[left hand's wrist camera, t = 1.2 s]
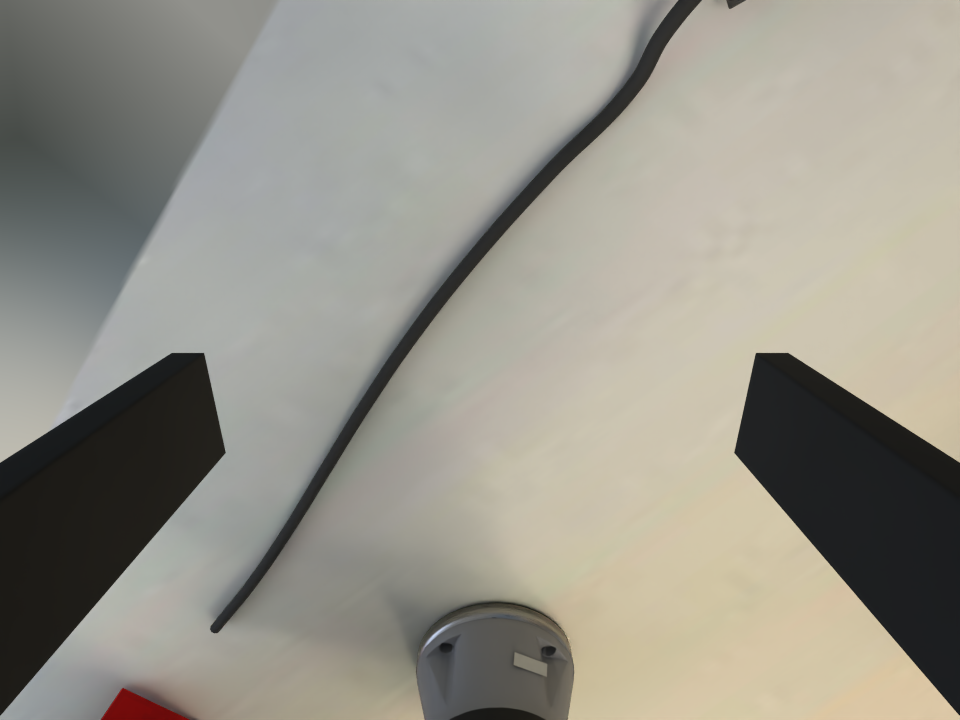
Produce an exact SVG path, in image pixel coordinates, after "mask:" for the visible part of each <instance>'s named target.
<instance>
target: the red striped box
mask: <svg viewBox="0 0 960 720" xmlns="http://www.w3.org/2000/svg"><path fill="white" fill-rule="evenodd" d="M101 720H189V719H187V718H185V717H183V716H181V715H179V714H177V713H175V712H172V711H170V710H168V709H166V708H164V707H162V706H160V705H158V704H156V703H153V702H151V701H149V700H147V699H145V698H143V697H141V696H139V695H137V694H135V693H132V692H130V691H128V690H126V689H124V688H122V689H121V691H120V692H119V694H118V695H117V697H116V698H115V700H114V701H113V702H112V704H111V705H110V707H109V708H108V710H107V711H106V713H105V714H104V716H103V717H102V719H101Z"/></svg>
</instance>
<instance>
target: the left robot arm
mask: <svg viewBox="0 0 960 720" xmlns="http://www.w3.org/2000/svg"><path fill="white" fill-rule="evenodd" d="M225 453H226V452H225V448H224V443H223V438H222V434H221V429H220V425H219V420H218V415H217V411H216V406H215V401H214V397H213V392H212V388H211V383H210V378H209V374H208V369H207V364H206V360H205V355H204V353H171V354H170V355H168V356H166V357H165V358H163V359H162V360H160V361H159V362H157V363H156V364H154V365H152V366H151V367H149V368H148V369H146V370H145V371H143V372H141V373H140V374H138V375H137V376H135V377H134V378H132V379H131V380H129V381H127V382H126V383H124V384H123V385H121V386H120V387H118V388H116V389H115V390H113V391H112V392H110V393H109V394H107V395H105V396H104V397H102V398H101V399H99V400H98V401H96V402H95V403H93V404H91V405H90V406H88V407H87V408H85V409H84V410H82V411H80V412H79V413H77V414H76V415H74V416H73V417H71V418H70V419H68V420H66V421H65V422H63V423H62V424H60V425H59V426H57V427H55V428H54V429H52V430H51V431H49V432H48V433H46V434H45V435H43V436H41V437H40V438H38V439H37V440H35V441H34V442H32V443H30V444H29V445H27V446H26V447H24V448H23V449H21V450H20V451H18V452H16V453H15V454H13V455H12V456H10V457H9V458H7V459H5V460H4V461H2V462H1V463H0V715H1V714H2V713H3V712H4V711H5V710H6V708H7V707H8V706H9V705H10V704H11V703H12V701H13V700H14V699H15V698H16V697H17V696H18V694H19V693H20V692H21V691H22V690H23V689H24V687H25V686H26V685H27V684H28V683H29V682H30V680H31V679H32V678H33V677H34V676H35V675H36V673H37V672H38V671H39V670H40V669H41V668H42V666H43V665H44V664H45V663H46V662H47V661H48V659H49V658H50V657H51V656H52V655H53V654H54V652H55V651H56V650H57V649H58V648H59V647H60V645H61V644H62V643H63V642H64V641H65V640H66V638H67V637H68V636H69V635H70V634H71V633H72V631H73V630H74V629H75V628H76V627H77V626H78V624H79V623H80V622H81V621H82V620H83V619H84V617H85V616H86V615H87V614H88V613H89V612H90V610H91V609H92V608H93V607H94V606H95V605H96V603H97V602H98V601H99V600H100V599H101V598H102V596H103V595H104V594H105V593H106V592H107V591H108V589H109V588H110V587H111V586H112V585H113V584H114V582H115V581H116V580H117V579H118V578H119V577H120V575H121V574H122V573H123V572H124V571H125V570H126V568H127V567H128V566H129V565H130V564H131V563H132V561H133V560H134V559H135V558H136V557H137V556H138V554H139V553H140V552H141V551H142V550H143V549H144V547H145V546H146V545H147V544H148V543H149V542H150V540H151V539H152V538H153V537H154V536H155V535H156V533H157V532H158V531H159V530H160V529H161V528H162V526H163V525H164V524H165V523H166V522H167V521H168V519H169V518H170V517H171V516H172V515H173V514H174V512H175V511H176V510H177V509H178V508H179V507H180V505H181V504H182V503H183V502H184V501H185V500H186V498H187V497H188V496H189V495H190V494H191V493H192V491H193V490H194V489H195V488H196V487H197V486H198V484H199V483H200V482H201V481H202V480H203V479H204V477H205V476H206V475H207V474H208V473H209V472H210V470H211V469H212V468H213V467H214V466H215V465H216V463H217V462H218V461H219V460H220V459H221V458H222V456H223V455H224V454H225ZM734 453H735V454H736V455H737V456H738V458H739V459H740V460H741V461H742V462H743V463H744V465H745V466H746V467H747V468H748V469H749V470H750V472H751V473H752V474H753V475H754V476H755V477H756V479H757V480H758V481H759V482H760V483H761V484H762V486H763V487H764V488H765V489H766V490H767V491H768V493H769V494H770V495H771V496H772V497H773V498H774V500H775V501H776V502H777V503H778V504H779V505H780V507H781V508H782V509H783V510H784V511H785V512H786V514H787V515H788V516H789V517H790V518H791V519H792V521H793V522H794V523H795V524H796V525H797V526H798V528H799V529H800V530H801V531H802V532H803V533H804V535H805V536H806V537H807V538H808V539H809V540H810V542H811V543H812V544H813V545H814V546H815V547H816V549H817V550H818V551H819V552H820V553H821V554H822V556H823V557H824V558H825V559H826V560H827V561H828V563H829V564H830V565H831V566H832V567H833V568H834V570H835V571H836V572H837V573H838V574H839V575H840V577H841V578H842V579H843V580H844V581H845V582H846V584H847V585H848V586H849V587H850V588H851V589H852V591H853V592H854V593H855V594H856V595H857V596H858V598H859V599H860V600H861V601H862V602H863V603H864V605H865V606H866V607H867V608H868V609H869V610H870V612H871V613H872V614H873V615H874V616H875V617H876V619H877V620H878V621H879V622H880V623H881V624H882V626H883V627H884V628H885V629H886V630H887V631H888V633H889V634H890V635H891V636H892V637H893V638H894V640H895V641H896V642H897V643H898V644H899V645H900V647H901V648H902V649H903V650H904V651H905V652H906V654H907V655H908V656H909V657H910V658H911V659H912V661H913V662H914V663H915V664H916V665H917V666H918V668H919V669H920V670H921V671H922V672H923V673H924V675H925V676H926V677H927V678H928V679H929V680H930V682H931V683H932V684H933V685H934V686H935V687H936V689H937V690H938V691H939V692H940V693H941V694H942V696H943V697H944V698H945V699H946V700H947V701H948V703H949V704H950V705H951V706H952V707H953V708H954V710H955V711H956V712H957V713H958V714H959V715H960V463H959V462H958V461H956V460H955V459H953V458H951V457H950V456H948V455H947V454H945V453H944V452H942V451H941V450H939V449H937V448H936V447H934V446H933V445H931V444H930V443H928V442H926V441H925V440H923V439H922V438H920V437H919V436H917V435H915V434H914V433H912V432H911V431H909V430H908V429H906V428H905V427H903V426H901V425H900V424H898V423H897V422H895V421H894V420H892V419H890V418H889V417H887V416H886V415H884V414H883V413H881V412H880V411H878V410H876V409H875V408H873V407H872V406H870V405H869V404H867V403H865V402H864V401H862V400H861V399H859V398H858V397H856V396H855V395H853V394H851V393H850V392H848V391H847V390H845V389H844V388H842V387H840V386H839V385H837V384H836V383H834V382H833V381H831V380H829V379H828V378H826V377H825V376H823V375H822V374H820V373H819V372H817V371H815V370H814V369H812V368H811V367H809V366H808V365H806V364H804V363H803V362H801V361H800V360H798V359H797V358H795V357H794V356H792V355H790V354H789V353H756V355H755V360H754V364H753V369H752V374H751V378H750V383H749V388H748V392H747V397H746V401H745V406H744V411H743V415H742V420H741V425H740V429H739V434H738V438H737V443H736V448H735V452H734ZM416 675H417V684H418V689H419V694H420V699H421V703H422V708H423V713H424V718H425V720H568V713H569V707H570V700H571V694H572V688H573V680H574V665H573V659H572V654H571V649H570V645H569V642H568V640H567V638H566V636H565V634H564V633H563V631H562V630H561V629H560V628H559V627H558V626H557V625H556V624H555V623H554V622H553V621H551V620H550V619H549V618H547V617H545V616H544V615H542V614H540V613H538V612H536V611H533V610H531V609H528V608H525V607H521V606H517V605H511V604H501V603H489V604H479V605H474V606H469V607H466V608H462V609H459V610H457V611H455V612H452V613H450V614H448V615H446V616H445V617H443V618H442V619H440V620H439V621H438V622H436V623H435V624H434V625H433V626H432V627H431V628H430V629H429V630H428V632H427V633H426V634H425V636H424V638H423V640H422V642H421V644H420V647H419V652H418V660H417V668H416Z"/></svg>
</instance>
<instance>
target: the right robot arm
mask: <svg viewBox="0 0 960 720" xmlns="http://www.w3.org/2000/svg"><path fill="white" fill-rule="evenodd" d="M701 1H702V0H678V2H677V3H676V4H675V5H674V7H673V8H672V9H671V10H670V12H669V13H668V14H667V16H666V17H665V18H664V20H663V21H662V22H661V24H660V25H659V27H658V28H657V30H656V31H655V33H654V34H653V36H652V38H651V39H650V41H649V43H648V45H647V47H646V49H645V51H644V53H643V55H642V58H641V60H640V62H639V64H638V66H637V68H636V70H635V71H634V73H633V74H632V76H631V77H630V79H629V80H628V81H627V82H626V84H625V85H624V86H623V88H622V89H621V90H620V91H619V93H618V94H617V95H616V96H615V97H614V99H613V100H612V101H611V102H610V103H609V104H608V105H607V106H606V107H605V108H604V110H603V111H602V112H601V113H600V114H599V115H598V116H597V117H596V118H595V119H594V120H593V121H591V122H590V123H589V124H588V125H587V126H586V127H585V128H584V129H583V130H582V131H581V132H580V133H579V134H578V135H577V136H576V137H574V138H573V139H572V140H571V141H570V142H569V143H568V144H567V145H566V146H565V147H564V148H563V149H562V150H561V151H560V152H559V153H558V154H557V155H556V156H555V157H554V158H553V159H552V160H551V161H550V162H549V163H548V164H547V165H546V166H545V167H544V168H543V169H542V170H541V172H540V173H539V174H538V175H537V176H536V177H535V178H534V179H533V180H532V181H531V182H530V184H529V185H528V186H527V187H526V188H525V189H524V190H523V191H522V192H521V193H520V195H519V196H518V197H517V198H516V199H515V200H514V201H513V202H512V203H511V204H510V206H509V207H508V208H507V209H506V210H505V211H504V212H503V213H502V215H501V216H500V217H499V218H498V219H497V220H496V221H495V223H494V224H493V225H492V226H491V227H490V228H489V229H488V231H487V232H486V233H485V234H484V235H483V237H482V238H481V239H480V240H479V241H478V242H477V244H476V245H475V246H474V247H473V248H472V250H471V251H470V252H469V253H468V254H467V256H466V257H465V258H464V259H463V260H462V262H461V263H460V264H459V265H458V267H457V268H456V269H455V270H454V271H453V273H452V274H451V275H450V276H449V278H448V279H447V280H446V281H445V283H444V284H443V285H442V286H441V288H440V289H439V290H438V292H437V293H436V294H435V295H434V297H433V298H432V299H431V301H430V302H429V303H428V305H427V306H426V307H425V309H424V310H423V311H422V313H421V314H420V315H419V317H418V318H417V319H416V321H415V322H414V324H413V325H412V326H411V328H410V329H409V330H408V332H407V333H406V335H405V336H404V337H403V339H402V340H401V342H400V343H399V344H398V346H397V347H396V349H395V350H394V351H393V353H392V354H391V356H390V357H389V359H388V360H387V362H386V363H385V365H384V366H383V368H382V369H381V371H380V372H379V374H378V375H377V377H376V378H375V380H374V381H373V383H372V384H371V386H370V387H369V389H368V390H367V392H366V394H365V395H364V397H363V398H362V400H361V401H360V403H359V404H358V406H357V408H356V409H355V411H354V412H353V414H352V415H351V417H350V419H349V420H348V422H347V424H346V425H345V427H344V428H343V430H342V432H341V433H340V435H339V437H338V438H337V440H336V442H335V443H334V445H333V447H332V448H331V450H330V452H329V453H328V455H327V457H326V458H325V460H324V462H323V463H322V465H321V467H320V468H319V470H318V471H317V473H316V475H315V476H314V478H313V480H312V481H311V483H310V485H309V486H308V488H307V490H306V491H305V493H304V495H303V496H302V498H301V500H300V501H299V503H298V505H297V506H296V508H295V510H294V511H293V513H292V515H291V516H290V518H289V519H288V521H287V523H286V524H285V526H284V527H283V529H282V530H281V532H280V534H279V535H278V537H277V538H276V540H275V541H274V543H273V544H272V546H271V547H270V549H269V550H268V552H267V553H266V555H265V556H264V558H263V559H262V561H261V562H260V564H259V565H258V567H257V568H256V570H255V571H254V572H253V574H252V575H251V576H250V578H249V579H248V581H247V582H246V583H245V585H244V586H243V587H242V589H241V590H240V591H239V592H238V594H237V595H236V596H235V597H234V599H233V600H232V601H231V602H230V604H229V605H228V606H227V607H226V608H225V610H224V611H223V612H222V613H221V614H220V616H219V617H218V618H217V619H216V620H215V622H214V623H213V624H212V625H211V628H210V630H211V632H213V633H218V632H219V631H220V630H221V629H222V627H223V626H224V625H225V624H226V623H227V621H228V620H229V619H230V618H231V617H232V616H233V614H234V613H235V612H236V611H237V610H238V608H239V607H240V606H241V605H242V604H243V602H244V601H245V600H246V599H247V598H248V596H249V595H250V594H251V592H252V591H253V590H254V589H255V587H256V586H257V585H258V583H259V582H260V581H261V579H262V578H263V576H264V575H265V574H266V572H267V571H268V570H269V568H270V567H271V565H272V564H273V562H274V561H275V559H276V558H277V556H278V555H279V553H280V552H281V550H282V549H283V547H284V546H285V544H286V543H287V541H288V540H289V538H290V537H291V535H292V534H293V532H294V531H295V529H296V528H297V526H298V524H299V523H300V521H301V520H302V518H303V517H304V515H305V513H306V512H307V510H308V509H309V507H310V505H311V504H312V502H313V500H314V499H315V497H316V495H317V494H318V492H319V491H320V489H321V487H322V486H323V484H324V482H325V481H326V479H327V478H328V476H329V474H330V473H331V471H332V469H333V468H334V466H335V465H336V463H337V461H338V460H339V458H340V456H341V455H342V453H343V452H344V450H345V448H346V447H347V445H348V443H349V442H350V440H351V439H352V437H353V435H354V434H355V432H356V431H357V429H358V427H359V426H360V424H361V423H362V421H363V419H364V418H365V416H366V415H367V413H368V412H369V410H370V409H371V407H372V406H373V404H374V403H375V401H376V400H377V398H378V397H379V395H380V394H381V392H382V390H383V389H384V387H385V386H386V384H387V383H388V381H389V380H390V378H391V377H392V376H393V374H394V373H395V371H396V370H397V368H398V367H399V365H400V364H401V363H402V361H403V360H404V358H405V357H406V355H407V354H408V353H409V351H410V350H411V349H412V347H413V346H414V344H415V343H416V342H417V340H418V339H419V338H420V336H421V335H422V334H423V332H424V331H425V329H426V328H427V327H428V325H429V324H430V323H431V321H432V320H433V319H434V318H435V316H436V315H437V314H438V312H439V311H440V310H441V308H442V307H443V306H444V305H445V303H446V302H447V301H448V299H449V298H450V297H451V296H452V294H453V293H454V292H455V291H456V289H457V288H458V287H459V286H460V285H461V283H462V282H463V281H464V280H465V278H466V277H467V276H468V275H469V274H470V272H471V271H472V270H473V269H474V268H475V266H476V265H477V264H478V263H479V262H480V261H481V259H482V258H483V257H484V256H485V255H486V253H487V252H488V251H489V250H490V249H491V248H492V246H493V245H494V244H495V243H496V242H497V241H498V240H499V238H500V237H501V236H502V235H503V234H504V233H505V232H506V230H507V229H508V228H509V227H510V226H511V225H512V224H513V223H514V222H515V220H516V219H517V218H518V217H519V216H520V215H521V214H522V213H523V212H524V211H525V209H526V208H527V207H528V206H529V205H530V204H531V203H532V202H533V201H534V200H535V199H536V198H537V197H538V195H539V194H540V193H541V192H542V191H543V190H544V189H545V188H546V187H547V186H548V185H549V184H550V183H551V181H552V180H553V179H554V178H555V177H556V176H557V175H558V174H559V173H560V172H561V171H562V170H563V169H564V168H565V167H566V166H567V165H568V164H569V163H570V162H571V161H572V160H573V159H574V158H575V157H576V156H577V155H578V154H579V153H581V152H582V151H583V150H584V149H585V148H586V147H587V146H588V145H589V144H590V143H591V142H592V141H594V140H595V139H596V138H597V137H598V136H599V135H600V134H601V133H602V132H603V131H604V130H605V129H606V128H607V127H608V126H609V125H610V124H611V123H612V122H613V121H614V120H615V119H616V118H617V117H618V116H619V115H620V114H621V113H622V112H623V110H624V109H625V108H626V107H627V106H628V105H629V104H630V102H631V101H632V100H633V99H634V98H635V96H636V95H637V94H638V92H639V91H640V90H641V89H642V87H643V86H644V84H645V83H646V82H647V80H648V79H649V77H650V75H651V73H652V72H653V70H654V68H655V66H656V64H657V62H658V60H659V57H660V55H661V53H662V52H663V50H664V48H665V46H666V45H667V43H668V42H669V40H670V39H671V37H672V36H673V35H674V33H675V32H676V31H677V29H678V28H679V27H680V25H681V24H682V23H683V22H684V20H685V19H686V18H687V17H688V15H689V14H690V13H691V12H692V11H693V10H694V8H695V7H696V6H697V5H698V4H699V3H700V2H701ZM726 1H727V4H728V7H729V9H731V8H733V7H735V6H736V5H738V4H740V3H742V2H744V1H745V0H726Z"/></svg>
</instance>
